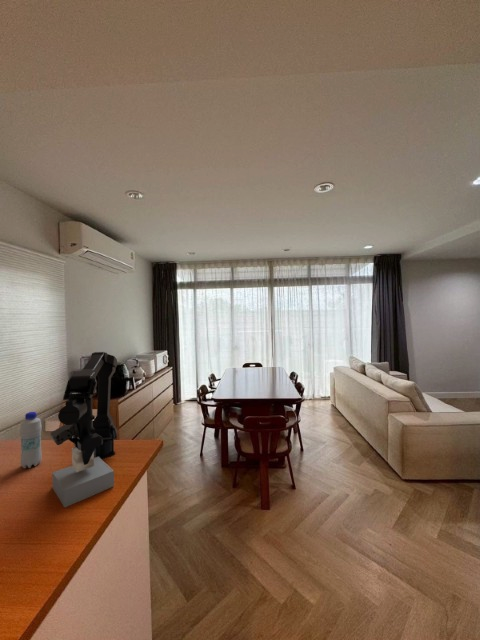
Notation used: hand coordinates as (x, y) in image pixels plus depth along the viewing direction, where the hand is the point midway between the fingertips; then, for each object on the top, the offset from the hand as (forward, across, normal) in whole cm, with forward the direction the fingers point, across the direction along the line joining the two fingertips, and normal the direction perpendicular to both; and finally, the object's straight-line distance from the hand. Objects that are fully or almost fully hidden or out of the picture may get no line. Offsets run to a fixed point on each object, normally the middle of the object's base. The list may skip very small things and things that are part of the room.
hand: (83, 461), depth 89 cm
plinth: (+8, 0, 0) cm, 8 cm away
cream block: (+2, 0, 0) cm, 2 cm away
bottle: (+8, -30, -9) cm, 32 cm away
